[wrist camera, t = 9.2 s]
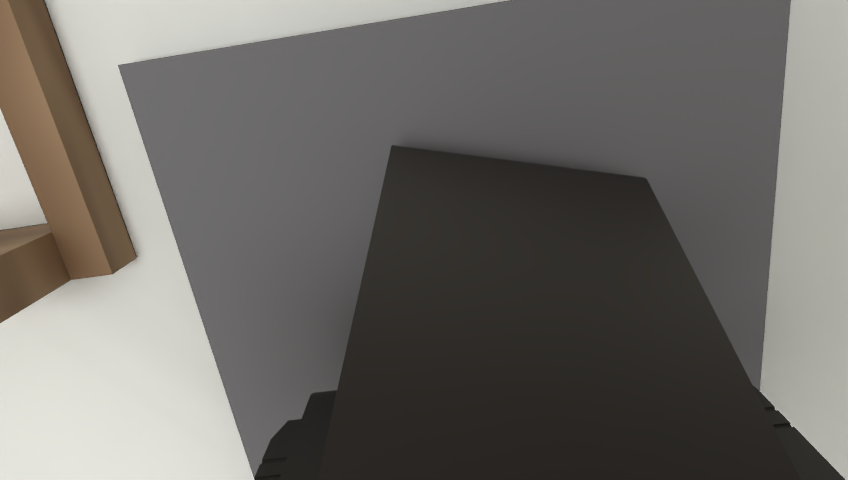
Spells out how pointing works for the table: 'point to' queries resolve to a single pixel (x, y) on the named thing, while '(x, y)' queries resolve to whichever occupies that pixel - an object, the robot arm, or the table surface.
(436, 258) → the phone stand
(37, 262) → the holder
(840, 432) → the table surface
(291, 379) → the mat
